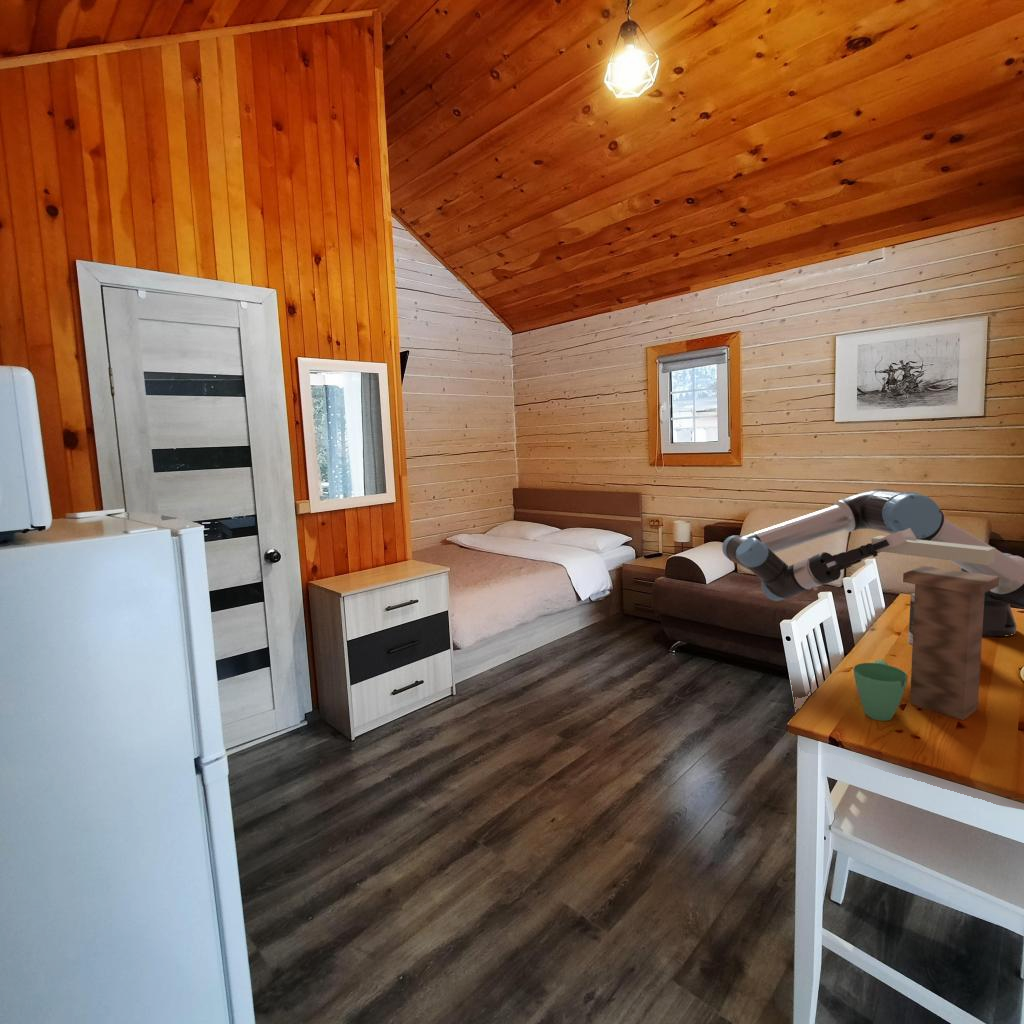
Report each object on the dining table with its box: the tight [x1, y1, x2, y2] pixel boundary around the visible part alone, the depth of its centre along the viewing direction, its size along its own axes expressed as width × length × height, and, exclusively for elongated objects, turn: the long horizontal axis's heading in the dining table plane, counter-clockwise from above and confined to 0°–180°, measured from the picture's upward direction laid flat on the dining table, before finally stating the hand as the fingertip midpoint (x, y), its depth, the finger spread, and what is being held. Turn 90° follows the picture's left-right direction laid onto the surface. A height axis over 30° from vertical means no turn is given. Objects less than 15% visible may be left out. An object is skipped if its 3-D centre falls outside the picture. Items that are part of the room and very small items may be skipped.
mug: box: [853, 659, 909, 722], centre depth 127 cm, size 15×10×10 cm
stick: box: [871, 535, 996, 565], centre depth 127 cm, size 22×4×3 cm, turn 34°
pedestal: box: [902, 565, 999, 721], centre depth 126 cm, size 14×10×30 cm
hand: (907, 534), depth 130 cm, fingers closed on stick, 4 cm apart
